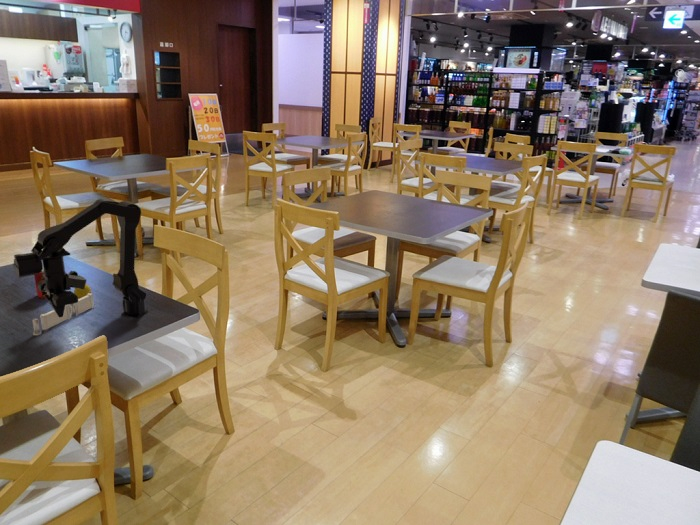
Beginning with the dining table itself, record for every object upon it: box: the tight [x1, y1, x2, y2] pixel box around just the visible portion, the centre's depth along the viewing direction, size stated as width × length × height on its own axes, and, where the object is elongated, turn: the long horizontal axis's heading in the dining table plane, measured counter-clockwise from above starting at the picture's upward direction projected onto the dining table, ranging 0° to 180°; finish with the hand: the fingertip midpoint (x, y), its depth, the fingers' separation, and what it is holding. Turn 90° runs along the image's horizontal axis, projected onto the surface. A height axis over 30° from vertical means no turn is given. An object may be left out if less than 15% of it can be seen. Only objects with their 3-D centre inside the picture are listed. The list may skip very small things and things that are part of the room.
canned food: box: [33, 268, 47, 300], centre depth 201 cm, size 8×8×11 cm
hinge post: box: [69, 303, 77, 318], centre depth 186 cm, size 2×2×5 cm
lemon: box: [73, 283, 92, 299], centre depth 196 cm, size 6×6×8 cm
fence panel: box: [75, 293, 95, 315], centre depth 190 cm, size 2×7×5 cm, turn 162°
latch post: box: [32, 318, 43, 337], centre depth 172 cm, size 2×2×5 cm
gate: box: [39, 304, 72, 331], centre depth 179 cm, size 10×2×5 cm, turn 162°
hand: (60, 316), depth 173 cm, fingers closed
